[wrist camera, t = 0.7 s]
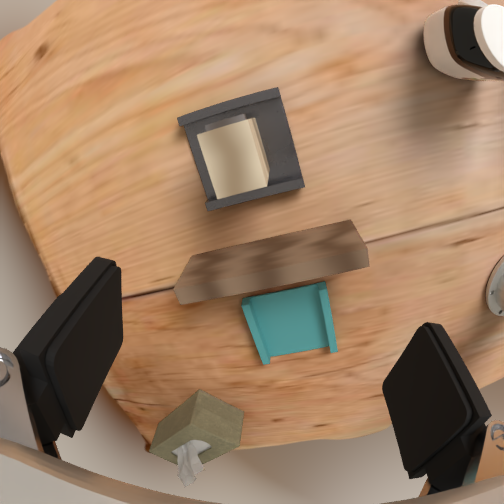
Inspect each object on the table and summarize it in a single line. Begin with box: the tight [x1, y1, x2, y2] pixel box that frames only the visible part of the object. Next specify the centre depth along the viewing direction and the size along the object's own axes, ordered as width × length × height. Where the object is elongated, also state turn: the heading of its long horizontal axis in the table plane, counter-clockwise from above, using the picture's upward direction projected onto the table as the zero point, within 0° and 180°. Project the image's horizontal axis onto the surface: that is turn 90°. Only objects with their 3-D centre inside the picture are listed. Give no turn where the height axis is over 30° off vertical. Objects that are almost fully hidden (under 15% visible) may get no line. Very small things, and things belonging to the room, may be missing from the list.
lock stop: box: [197, 114, 270, 199], centre depth 29 cm, size 4×7×8 cm
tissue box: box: [149, 390, 244, 487], centre depth 49 cm, size 19×10×16 cm, turn 143°
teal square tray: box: [241, 282, 338, 365], centre depth 42 cm, size 11×11×2 cm
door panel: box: [173, 220, 370, 305], centre depth 35 cm, size 20×2×8 cm, turn 106°
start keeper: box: [177, 87, 305, 211], centre depth 33 cm, size 11×11×2 cm
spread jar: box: [423, 0, 504, 81], centre depth 19 cm, size 12×11×12 cm
